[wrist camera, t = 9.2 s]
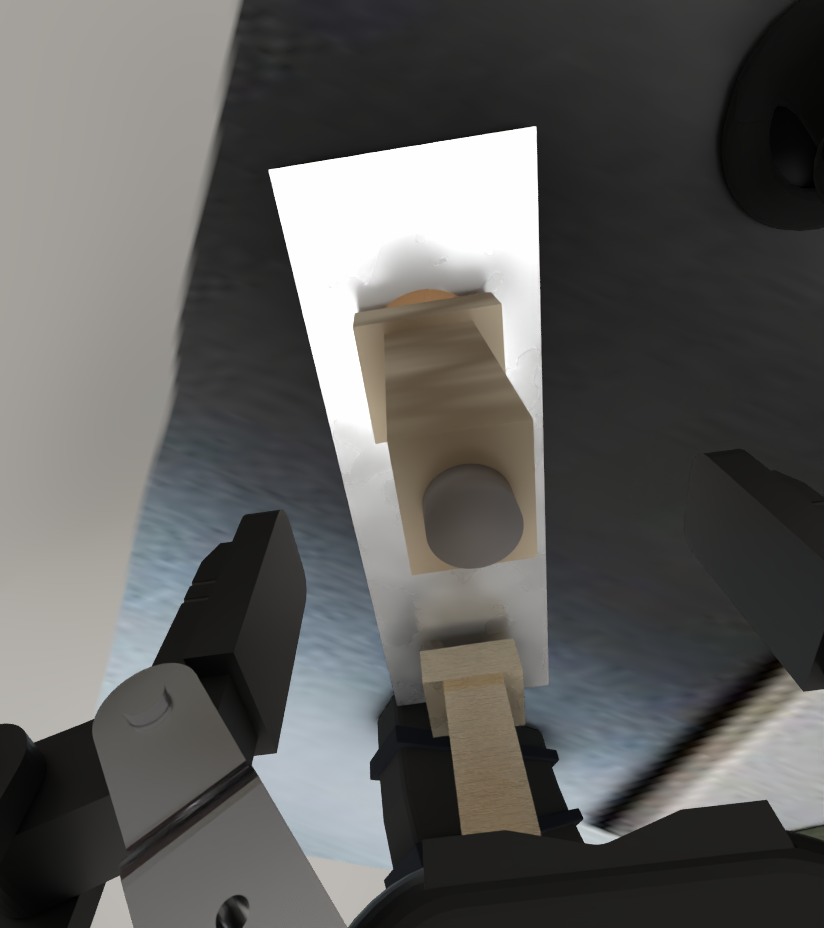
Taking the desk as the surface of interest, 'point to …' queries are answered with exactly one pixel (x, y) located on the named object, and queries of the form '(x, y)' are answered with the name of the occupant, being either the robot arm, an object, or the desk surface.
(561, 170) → the desk surface
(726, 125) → the webcam
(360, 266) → the bolt-hole plate
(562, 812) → the black boxy piece
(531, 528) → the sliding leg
